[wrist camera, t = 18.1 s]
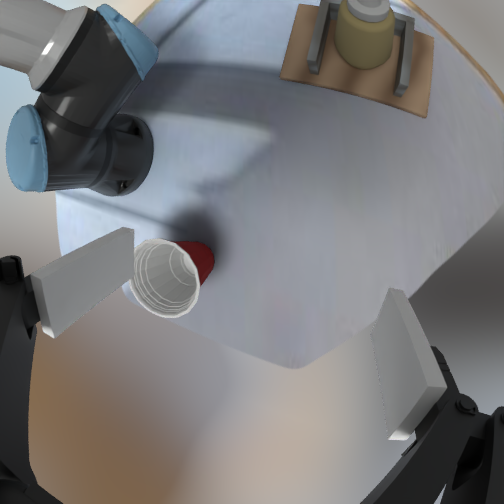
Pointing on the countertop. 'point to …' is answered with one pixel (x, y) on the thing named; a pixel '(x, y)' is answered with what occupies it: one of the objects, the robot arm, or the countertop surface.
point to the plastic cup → (170, 275)
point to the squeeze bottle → (365, 32)
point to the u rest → (353, 79)
